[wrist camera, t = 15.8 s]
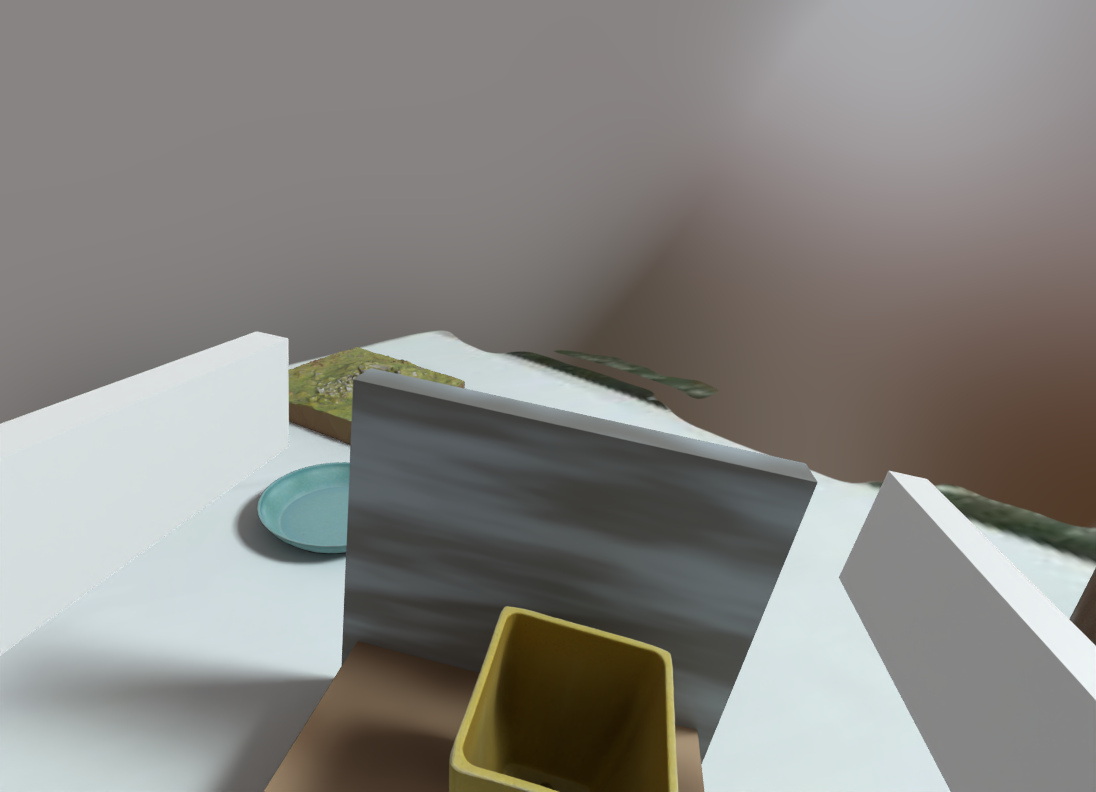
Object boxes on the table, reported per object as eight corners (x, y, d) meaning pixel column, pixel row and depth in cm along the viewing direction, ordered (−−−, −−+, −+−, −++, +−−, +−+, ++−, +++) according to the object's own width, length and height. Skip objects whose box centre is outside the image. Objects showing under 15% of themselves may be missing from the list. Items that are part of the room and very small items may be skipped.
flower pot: (632, 767, 30) (673, 647, 27) (625, 973, 22) (682, 839, 19) (482, 722, 31) (504, 601, 28) (423, 905, 23) (444, 765, 20)
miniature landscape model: (241, 406, 75) (239, 372, 73) (357, 365, 96) (358, 338, 94) (370, 456, 69) (372, 420, 67) (464, 400, 89) (468, 372, 88)
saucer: (382, 471, 65) (383, 452, 64) (437, 543, 55) (439, 521, 54) (243, 497, 56) (243, 475, 55) (278, 589, 46) (277, 564, 45)
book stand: (711, 1074, 24) (947, 690, 15) (214, 919, 26) (171, 498, 17) (685, 767, 37) (805, 463, 28) (354, 678, 39) (370, 368, 30)
